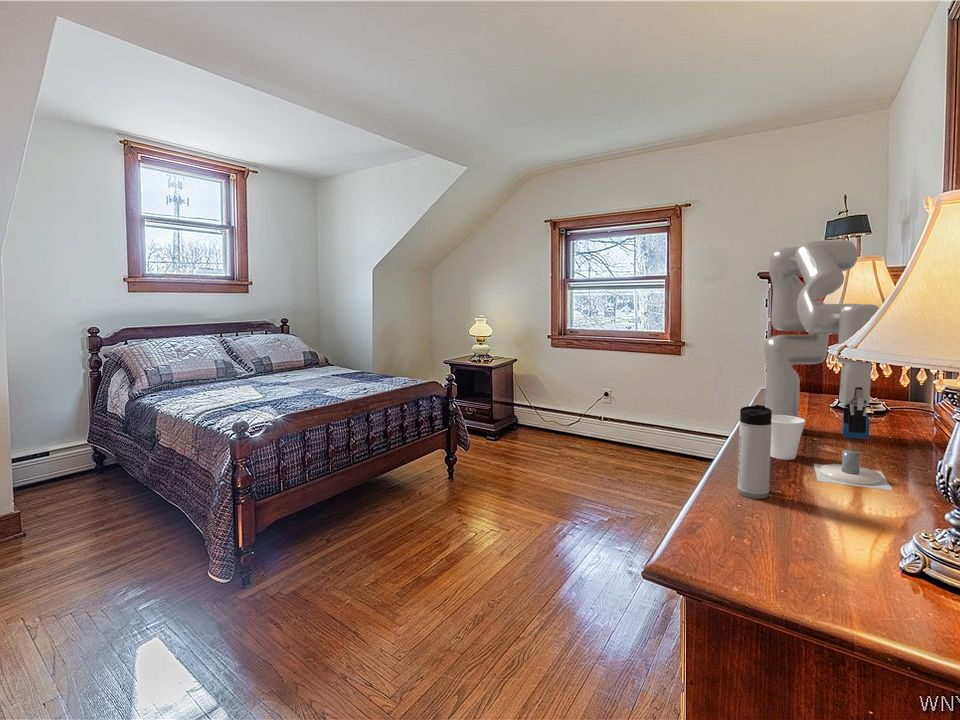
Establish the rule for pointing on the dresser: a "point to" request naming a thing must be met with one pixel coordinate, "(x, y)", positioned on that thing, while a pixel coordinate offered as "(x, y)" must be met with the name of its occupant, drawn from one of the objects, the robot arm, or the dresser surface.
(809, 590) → the dresser surface
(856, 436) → the perfume bottle
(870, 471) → the lid
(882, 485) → the mat
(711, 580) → the dresser surface
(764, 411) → the travel mug
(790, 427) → the cup
